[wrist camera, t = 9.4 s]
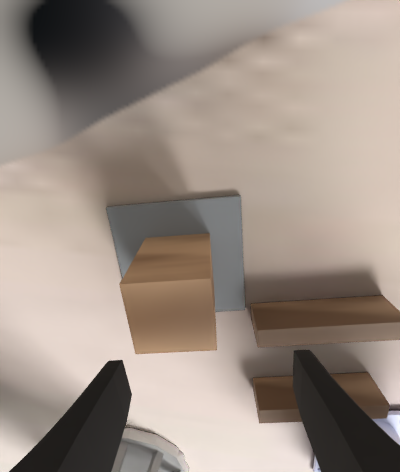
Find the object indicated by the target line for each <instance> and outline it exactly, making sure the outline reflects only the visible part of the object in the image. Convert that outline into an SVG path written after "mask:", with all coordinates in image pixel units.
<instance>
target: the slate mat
mask: <svg viewBox="0 0 400 472" xmlns="http://www.w3.org/2000/svg"><path fill="white" fill-rule="evenodd" d="M106 210H107V214H108V219H109V223H110V227H111V231H112V236H113V240H114V244H115V249H116V253H117V257H118V261H119V266H120V270H121V274H122V278H123V277H124V275H125V273H126V272H127V270H128V268H129V266H130V265H131V263H132V261H133V259H134V257H135V256H136V254H137V252H138V250H139V249H140V247H141V245H142V243H143V241H144V240H145V238H150V237H164V236H178V235H191V234H205V233H210V242H211V255H212V267H213V280H214V295H215V312H220V311H236V310H245V292H244V267H243V242H242V217H241V196H240V195H234V196H223V197H211V198H200V199H189V200H177V201H166V202H155V203H143V204H132V205H121V206H109V207H107V208H106Z"/></svg>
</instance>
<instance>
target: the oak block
mask: <svg viewBox="0 0 400 472" xmlns="http://www.w3.org/2000/svg"><path fill="white" fill-rule="evenodd" d="M119 285H120V289H121V293H122V298H123V302H124V306H125V311H126V315H127V319H128V324H129V328H130V332H131V336H132V341H133V345H134V349H135V354H148V353H168V352H189V351H210V350H217V341H216V318H215V295H214V280H213V267H212V255H211V242H210V233H205V234H191V235H178V236H164V237H150V238H145V240H144V241H143V243H142V245H141V247H140V249H139V250H138V252H137V254H136V256H135V257H134V259H133V261H132V263H131V265H130V266H129V268H128V270H127V272H126V273H125V275H124V277H123V279H122V281H121V282H120V284H119Z"/></svg>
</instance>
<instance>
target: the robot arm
mask: <svg viewBox="0 0 400 472" xmlns="http://www.w3.org/2000/svg"><path fill="white" fill-rule="evenodd" d="M293 390H294V394H295V398H296V402H297V405H298V409H299V413H300V416H301V419H302V421H303V424H304V427H305V430H306V432H307V435H308V438H309V440H310V443H311V446H312V448H313V451H314V454H315V457H314V467H313V472H400V410H399V411H389V412H388V416H387V418H384V419H371V418H370V417H369V416H368V415H367V414H366V413H365V412H364V411H363V410H362V409H361V408H360V407H359V405H358V404H357V403H356V402H355V401H354V400H353V399H352V398H351V397H350V396H349V395H348V394H347V393H346V392H345V390H344V389H343V388H342V387H341V386H340V385H339V384H338V383H337V382H336V380H335V379H334V378H333V377H332V376H331V375H330V374H329V372H328V371H327V370H326V369H325V368H324V366H323V365H322V364H321V363H320V362H319V360H318V359H317V358H316V357H315V355H314V354H313V353H312V352H311V351H310V350H295V351H294V362H293ZM131 396H132V393H131V390H130V386H129V382H128V379H127V375H126V372H125V368H124V364H123V361H122V360H116V361H108V362H107V363H106V364H105V366H104V367H103V368H102V369H101V371H100V372H99V373H98V374H97V376H96V377H95V378H94V379H93V381H92V382H91V383H90V384H89V386H88V387H87V388H86V389H85V391H84V392H83V393H82V394H81V395H80V397H79V398H78V399H77V400H76V401H75V403H74V404H73V405H72V406H71V407H70V409H69V410H68V411H67V412H66V413H65V414H64V415H63V417H62V418H61V419H60V420H59V421H58V422H57V423H56V424H55V425H54V427H53V428H52V429H51V430H50V431H49V432H48V433H47V434H46V435H45V436H44V437H43V439H42V440H41V441H40V442H39V443H38V444H37V445H36V446H35V447H34V448H33V449H32V450H31V451H30V452H29V453H28V454H27V455H26V456H25V457H24V458H23V459H22V460H21V461H20V462H19V463H18V464H17V465H16V466H15V467H13V468H12V469H11V470H10V471H9V472H111V471H112V468H113V465H114V462H115V458H116V455H117V452H118V449H119V445H120V442H121V439H122V435H123V432H124V429H125V425H126V422H127V417H128V412H129V407H130V401H131Z"/></svg>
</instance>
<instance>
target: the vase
mask: <svg viewBox="0 0 400 472" xmlns="http://www.w3.org/2000/svg"><path fill="white" fill-rule="evenodd" d="M111 472H189V466H188V465H187V463H186V461H185V457H184V454H183V453H182V452H180V451H179V449H178V447H176V446H175V445H173V444H171V443H170V442H168V441H167V440H165V439H163V438H162V437H160V436H158V435H156V434H152V433H148V432H145V431H141V430H137V429H133V428H125V429H124V432H123V435H122V439H121V442H120V445H119V449H118V452H117V455H116V458H115V462H114V465H113V468H112V471H111Z"/></svg>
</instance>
